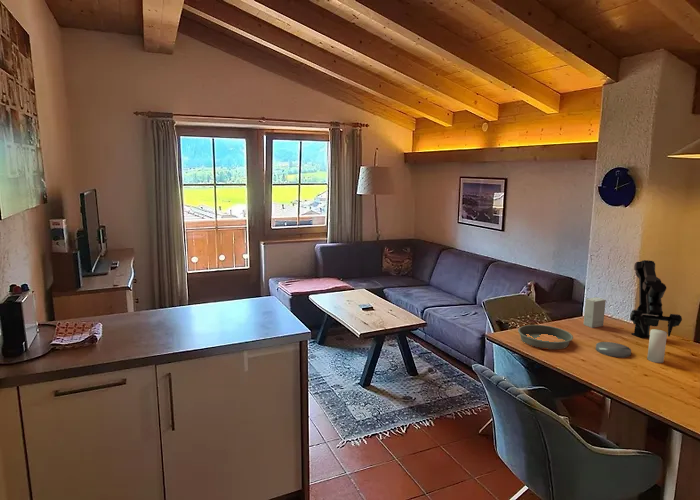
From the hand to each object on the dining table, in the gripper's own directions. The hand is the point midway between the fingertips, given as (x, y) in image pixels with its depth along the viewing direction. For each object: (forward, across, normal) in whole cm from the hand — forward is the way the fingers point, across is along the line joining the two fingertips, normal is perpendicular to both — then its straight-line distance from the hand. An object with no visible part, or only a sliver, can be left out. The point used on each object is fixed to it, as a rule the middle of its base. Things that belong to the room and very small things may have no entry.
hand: (656, 334), depth 201 cm
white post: (+10, 0, -5) cm, 11 cm away
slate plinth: (+7, +16, -8) cm, 19 cm away
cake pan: (+6, +45, -10) cm, 46 cm away
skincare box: (-20, +21, -35) cm, 45 cm away
